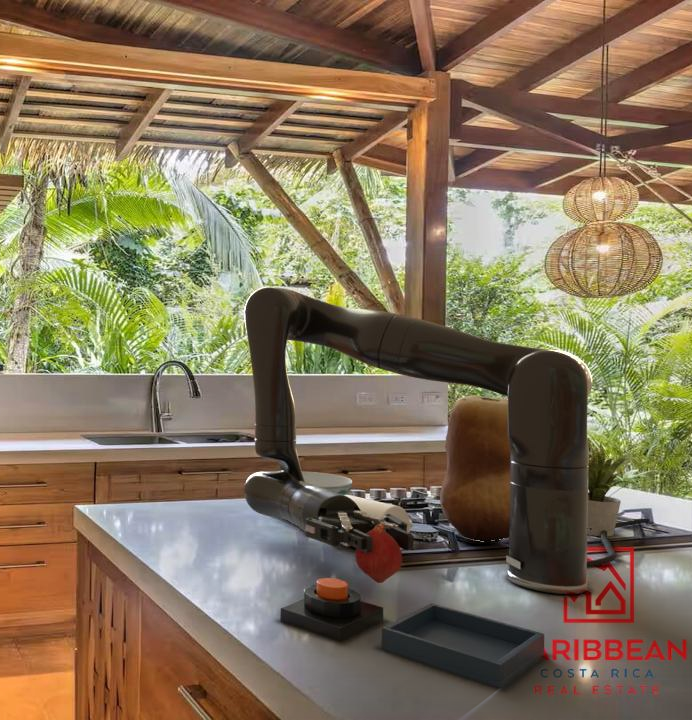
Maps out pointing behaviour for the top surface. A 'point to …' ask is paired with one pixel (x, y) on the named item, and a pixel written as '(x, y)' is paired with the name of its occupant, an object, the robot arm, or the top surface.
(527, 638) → the tray
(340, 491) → the chinaware
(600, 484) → the house plant
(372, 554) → the onion
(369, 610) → the panel
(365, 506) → the mug
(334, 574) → the top surface
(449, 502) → the butternut squash
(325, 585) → the button
